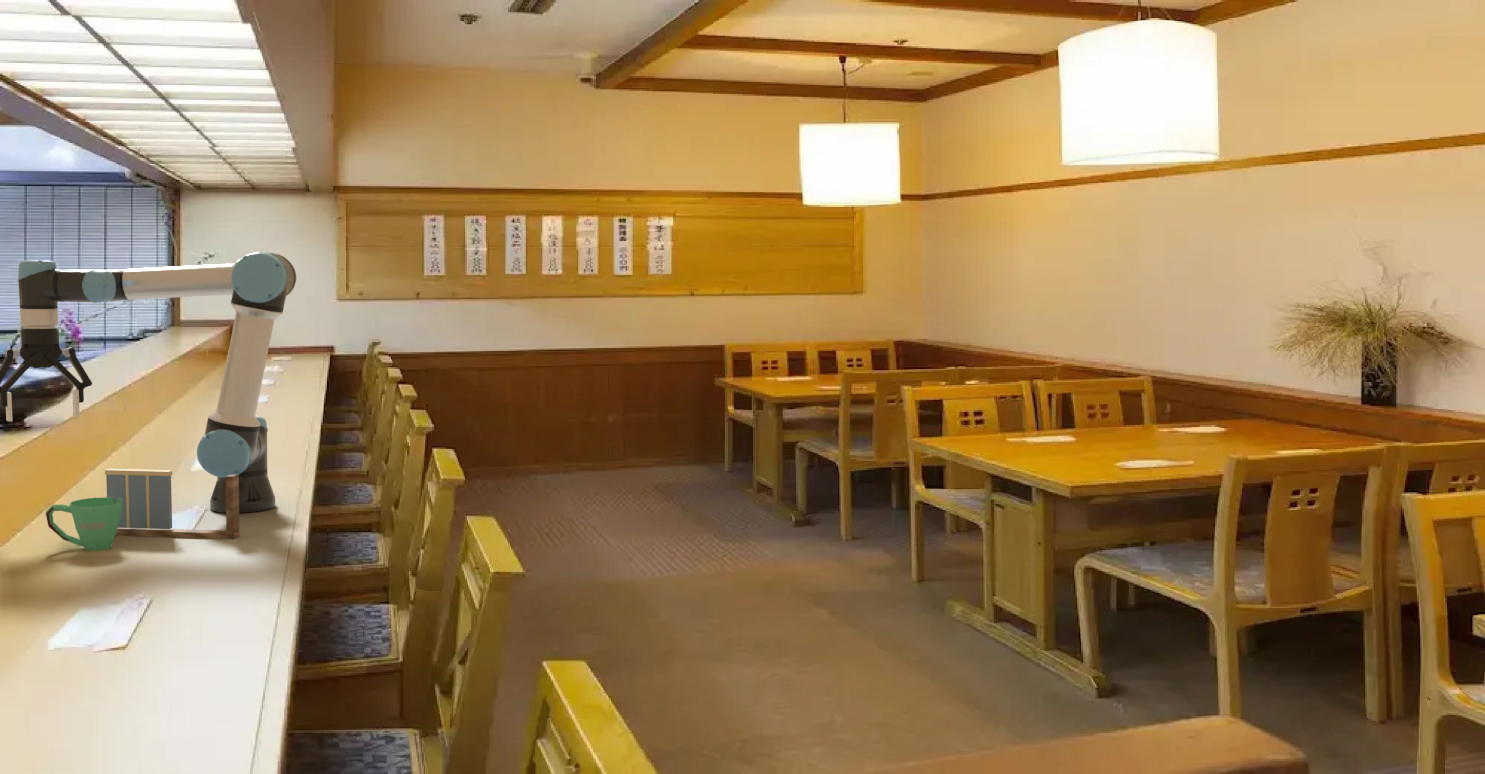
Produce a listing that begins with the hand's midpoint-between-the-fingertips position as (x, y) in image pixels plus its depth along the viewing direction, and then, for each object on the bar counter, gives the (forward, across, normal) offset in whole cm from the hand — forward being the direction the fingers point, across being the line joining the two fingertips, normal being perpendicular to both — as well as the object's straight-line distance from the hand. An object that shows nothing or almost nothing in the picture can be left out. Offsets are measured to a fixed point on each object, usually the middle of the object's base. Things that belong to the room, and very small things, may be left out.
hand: (43, 418), depth 270 cm
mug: (+24, 0, +35) cm, 43 cm away
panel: (+23, -13, +28) cm, 38 cm away
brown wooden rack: (+24, -17, +32) cm, 44 cm away
